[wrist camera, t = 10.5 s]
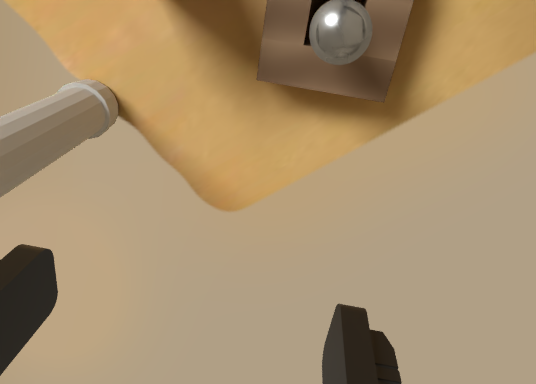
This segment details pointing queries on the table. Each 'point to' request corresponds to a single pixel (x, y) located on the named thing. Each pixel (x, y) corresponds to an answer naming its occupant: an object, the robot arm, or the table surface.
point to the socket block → (320, 72)
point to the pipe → (52, 129)
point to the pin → (340, 31)
